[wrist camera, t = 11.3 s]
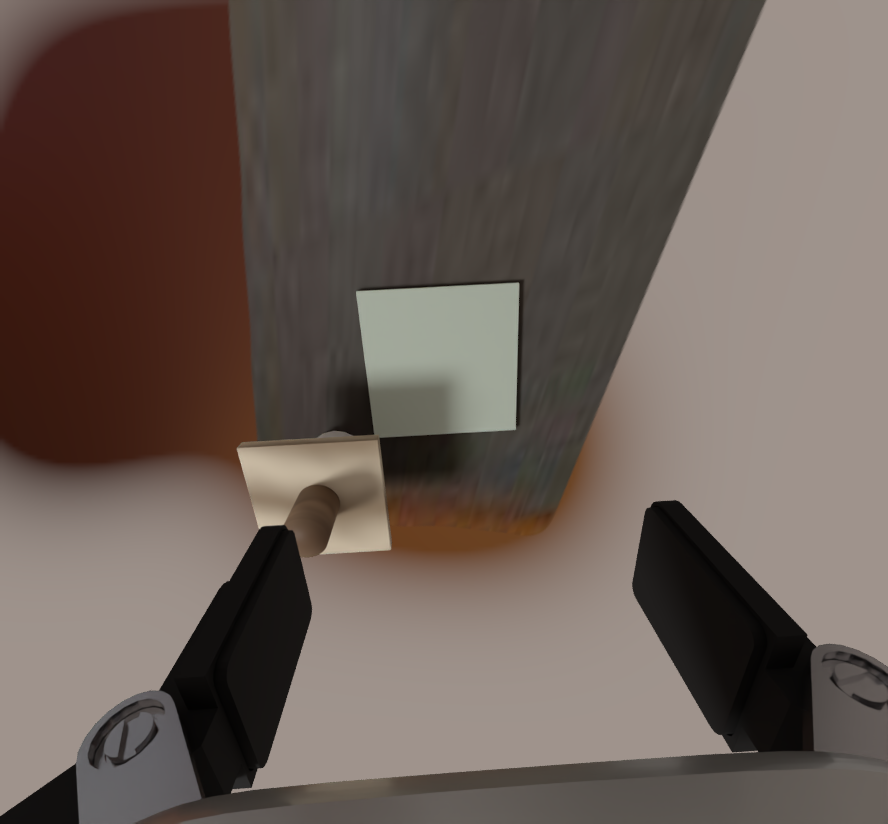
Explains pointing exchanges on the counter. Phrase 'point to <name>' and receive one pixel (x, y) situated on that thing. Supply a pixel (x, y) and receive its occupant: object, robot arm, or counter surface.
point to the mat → (441, 358)
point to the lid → (320, 491)
